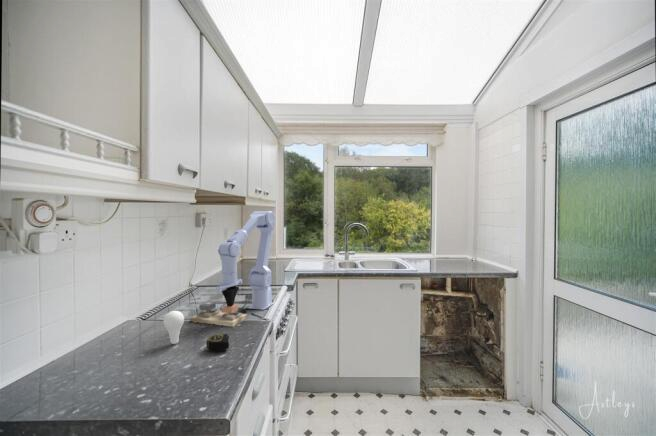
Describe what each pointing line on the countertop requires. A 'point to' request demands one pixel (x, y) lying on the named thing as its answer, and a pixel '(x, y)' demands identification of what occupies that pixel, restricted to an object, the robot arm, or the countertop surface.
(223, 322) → the button mount
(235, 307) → the button terracotta
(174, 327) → the lightbulb
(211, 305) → the button charcoal
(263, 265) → the robot arm
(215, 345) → the tape measure
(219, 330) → the countertop surface
